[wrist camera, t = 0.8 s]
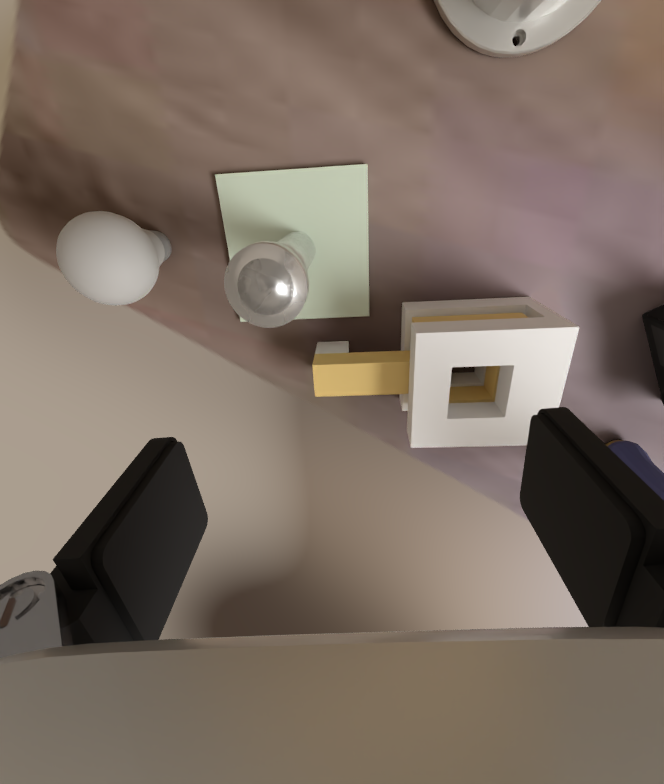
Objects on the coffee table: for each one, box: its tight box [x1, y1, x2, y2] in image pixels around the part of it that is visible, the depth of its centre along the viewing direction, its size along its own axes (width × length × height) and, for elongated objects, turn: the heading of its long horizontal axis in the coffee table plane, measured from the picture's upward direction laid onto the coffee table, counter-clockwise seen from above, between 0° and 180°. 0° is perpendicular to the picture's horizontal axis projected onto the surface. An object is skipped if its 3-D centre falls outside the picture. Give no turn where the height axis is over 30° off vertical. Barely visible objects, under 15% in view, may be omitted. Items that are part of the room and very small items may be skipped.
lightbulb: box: [56, 211, 172, 305], centre depth 29 cm, size 6×6×11 cm
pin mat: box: [215, 164, 369, 322], centre depth 33 cm, size 12×12×1 cm
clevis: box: [312, 297, 579, 448], centre depth 33 cm, size 10×19×8 cm, turn 93°
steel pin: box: [224, 232, 315, 328], centre depth 26 cm, size 4×4×14 cm
